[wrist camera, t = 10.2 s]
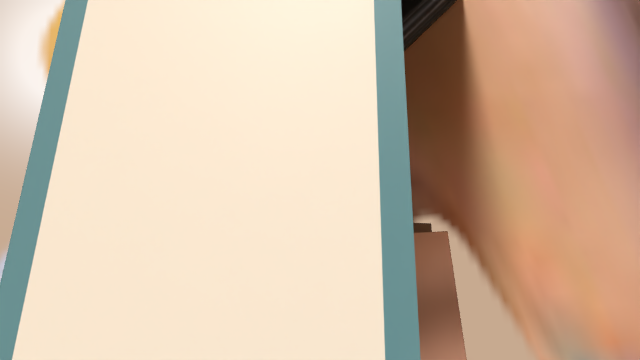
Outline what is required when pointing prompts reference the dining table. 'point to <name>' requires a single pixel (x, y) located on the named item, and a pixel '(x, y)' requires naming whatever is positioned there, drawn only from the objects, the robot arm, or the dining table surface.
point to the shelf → (436, 297)
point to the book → (217, 187)
